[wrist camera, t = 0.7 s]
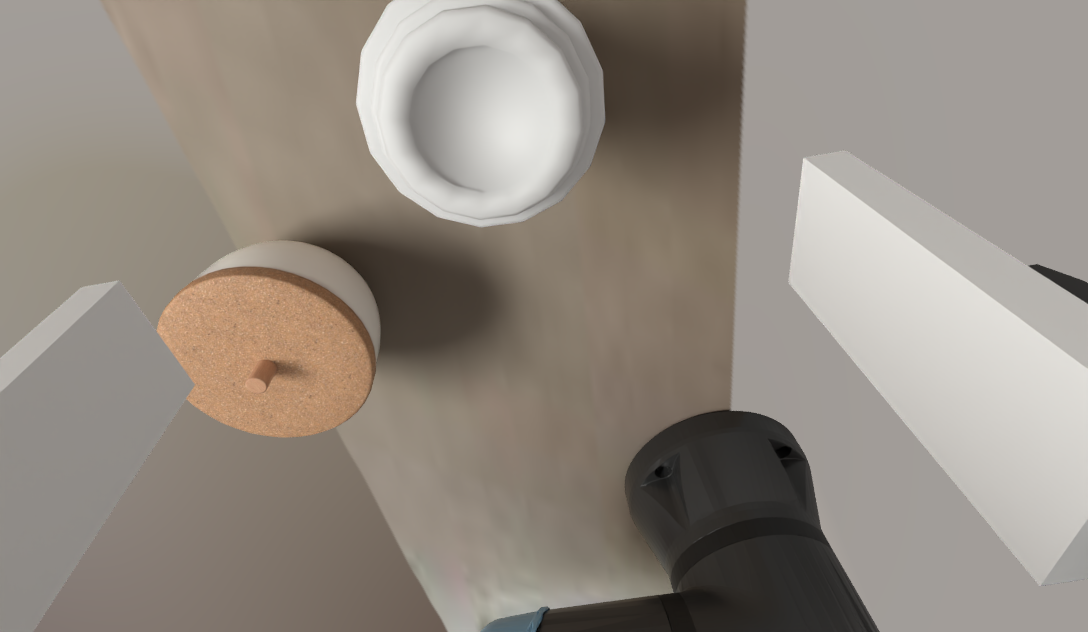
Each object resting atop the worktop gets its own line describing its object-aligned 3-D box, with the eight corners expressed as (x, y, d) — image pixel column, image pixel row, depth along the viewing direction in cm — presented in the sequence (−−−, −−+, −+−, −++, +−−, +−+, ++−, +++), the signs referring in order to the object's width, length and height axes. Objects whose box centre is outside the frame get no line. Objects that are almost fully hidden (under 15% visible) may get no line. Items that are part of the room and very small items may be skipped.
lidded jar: (304, 380, 39) (255, 486, 31) (180, 265, 34) (83, 359, 26) (428, 313, 37) (409, 409, 29) (317, 179, 31) (256, 252, 23)
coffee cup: (393, -47, 26) (326, -50, 16) (585, -28, 27) (636, -19, 17) (403, 148, 31) (357, 241, 21) (565, 158, 32) (596, 252, 22)
